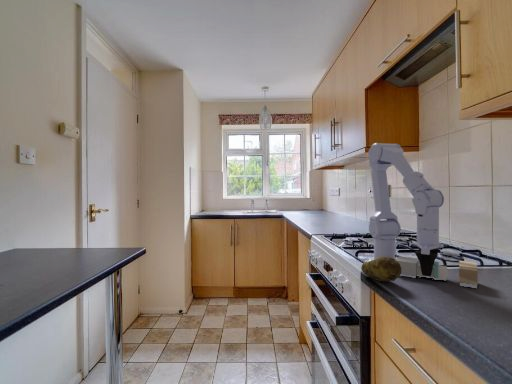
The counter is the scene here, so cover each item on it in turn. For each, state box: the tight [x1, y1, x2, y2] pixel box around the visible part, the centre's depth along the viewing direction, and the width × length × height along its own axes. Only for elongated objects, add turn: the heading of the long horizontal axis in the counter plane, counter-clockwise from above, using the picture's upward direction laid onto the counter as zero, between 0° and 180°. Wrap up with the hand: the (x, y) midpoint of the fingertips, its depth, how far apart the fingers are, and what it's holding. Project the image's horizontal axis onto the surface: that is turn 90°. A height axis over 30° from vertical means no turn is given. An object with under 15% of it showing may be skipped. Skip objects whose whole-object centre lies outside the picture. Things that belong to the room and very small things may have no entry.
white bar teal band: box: [417, 260, 448, 280], centre depth 85 cm, size 5×12×4 cm, turn 53°
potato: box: [360, 257, 401, 282], centre depth 81 cm, size 8×13×8 cm, turn 178°
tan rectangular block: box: [458, 260, 479, 285], centre depth 78 cm, size 7×4×6 cm, turn 143°
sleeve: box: [396, 255, 419, 276], centre depth 87 cm, size 6×6×5 cm
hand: (427, 273), depth 84 cm, fingers closed on white bar teal band, 5 cm apart
